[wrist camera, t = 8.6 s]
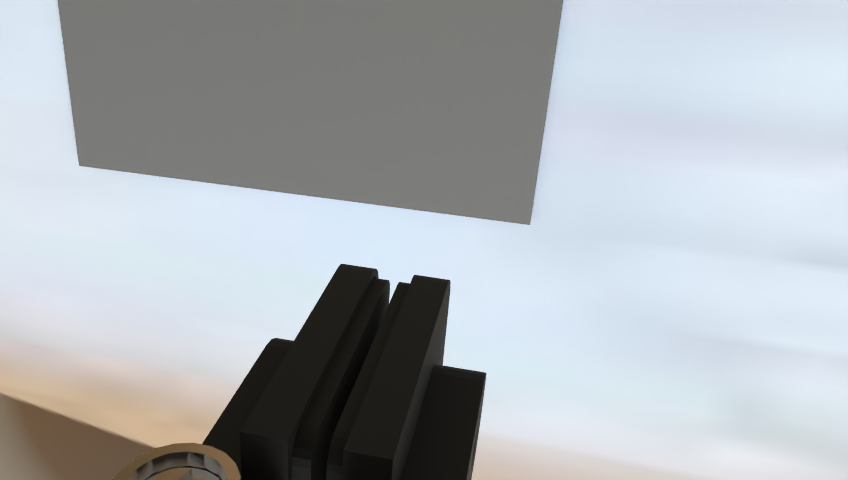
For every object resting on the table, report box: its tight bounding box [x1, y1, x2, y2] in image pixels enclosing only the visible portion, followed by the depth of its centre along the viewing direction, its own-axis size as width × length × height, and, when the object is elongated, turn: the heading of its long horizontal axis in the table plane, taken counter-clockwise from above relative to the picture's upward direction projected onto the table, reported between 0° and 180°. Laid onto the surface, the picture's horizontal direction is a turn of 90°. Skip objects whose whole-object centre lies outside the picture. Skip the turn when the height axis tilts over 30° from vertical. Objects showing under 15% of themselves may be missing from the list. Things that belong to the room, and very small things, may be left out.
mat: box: [58, 0, 563, 225], centre depth 36 cm, size 24×18×1 cm
